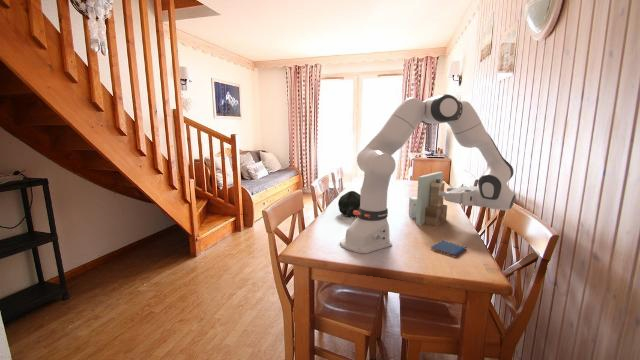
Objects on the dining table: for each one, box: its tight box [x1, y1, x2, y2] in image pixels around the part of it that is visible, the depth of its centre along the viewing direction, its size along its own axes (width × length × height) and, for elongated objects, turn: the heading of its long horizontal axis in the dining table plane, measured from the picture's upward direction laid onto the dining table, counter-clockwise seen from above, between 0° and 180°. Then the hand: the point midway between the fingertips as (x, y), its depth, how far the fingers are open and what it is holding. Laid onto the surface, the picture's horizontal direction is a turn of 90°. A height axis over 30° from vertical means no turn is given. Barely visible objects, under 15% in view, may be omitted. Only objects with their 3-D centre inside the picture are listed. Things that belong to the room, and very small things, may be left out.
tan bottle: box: [430, 179, 446, 208], centre depth 146 cm, size 6×4×14 cm
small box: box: [408, 196, 417, 219], centre depth 156 cm, size 8×6×10 cm
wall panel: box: [415, 171, 444, 226], centre depth 149 cm, size 22×2×24 cm, turn 133°
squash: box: [337, 190, 360, 218], centre depth 159 cm, size 14×15×15 cm
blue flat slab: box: [429, 240, 468, 258], centre depth 115 cm, size 10×11×2 cm
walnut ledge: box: [424, 204, 448, 227], centre depth 148 cm, size 12×6×8 cm, turn 133°
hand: (443, 191), depth 144 cm, fingers open, 8 cm apart
